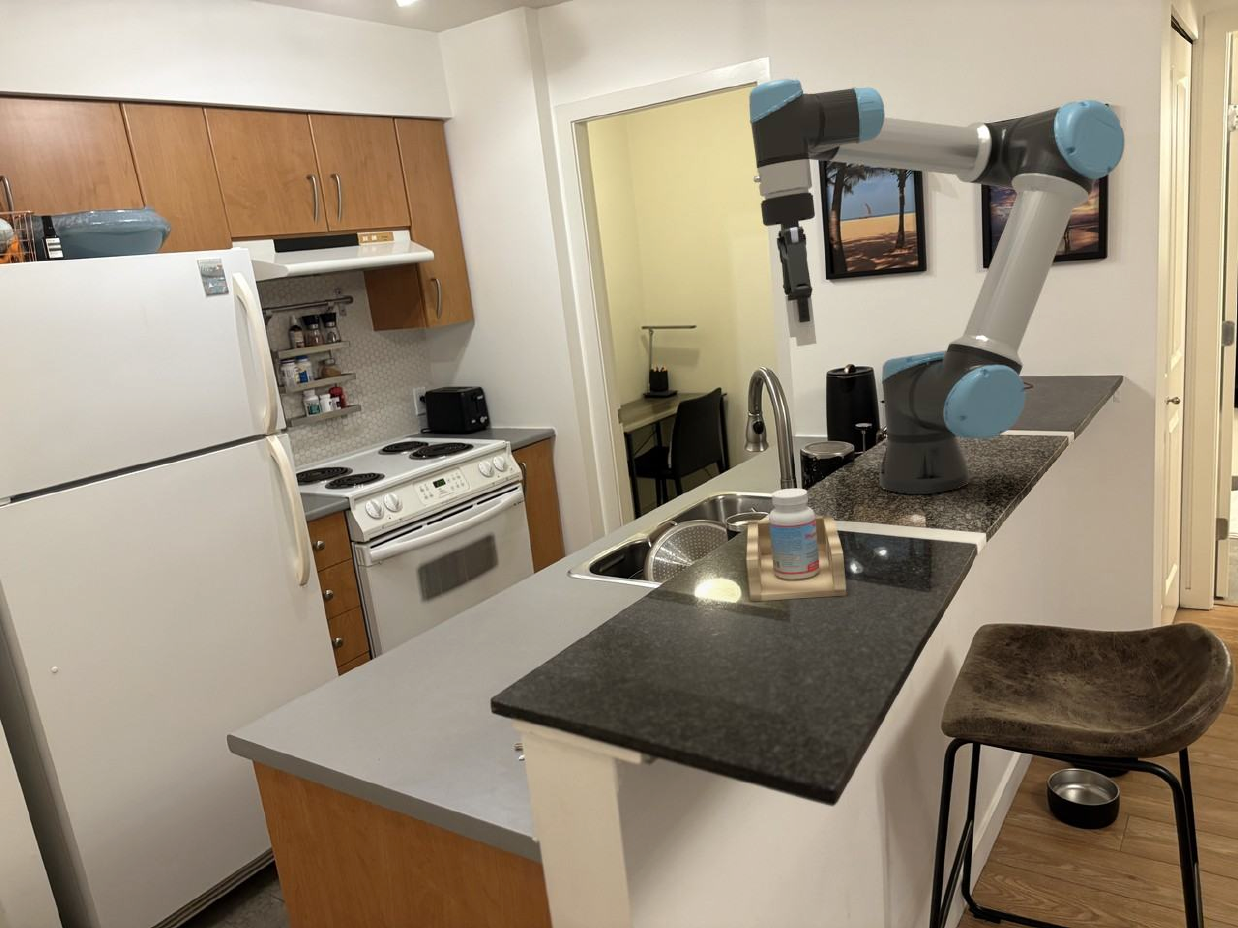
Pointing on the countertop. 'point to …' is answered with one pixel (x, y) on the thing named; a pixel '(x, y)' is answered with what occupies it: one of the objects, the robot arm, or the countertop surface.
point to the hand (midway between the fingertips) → (802, 340)
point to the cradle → (776, 588)
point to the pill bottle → (793, 535)
